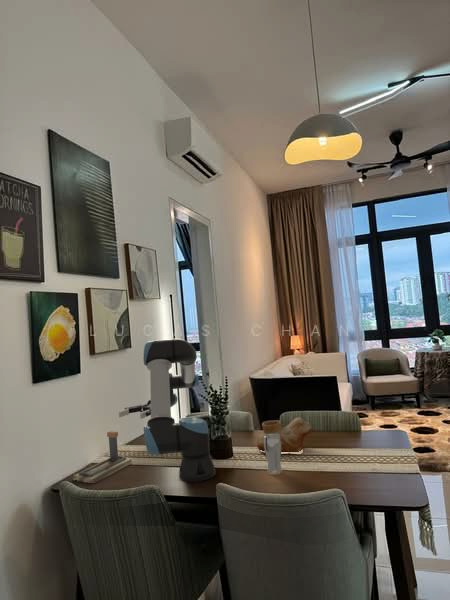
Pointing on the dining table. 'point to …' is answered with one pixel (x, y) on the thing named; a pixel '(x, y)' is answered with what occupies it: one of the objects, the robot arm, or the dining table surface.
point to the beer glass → (273, 452)
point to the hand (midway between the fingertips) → (129, 415)
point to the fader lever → (113, 446)
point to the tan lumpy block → (286, 434)
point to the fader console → (102, 470)
